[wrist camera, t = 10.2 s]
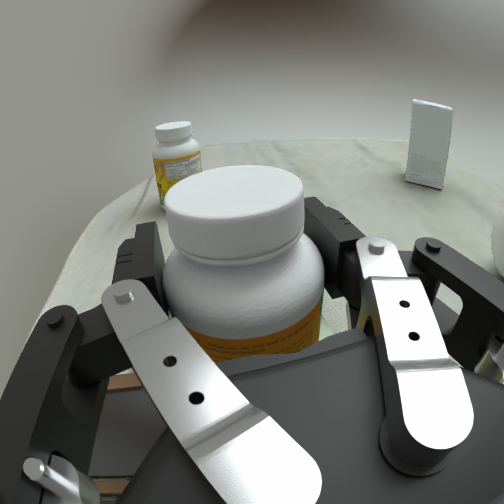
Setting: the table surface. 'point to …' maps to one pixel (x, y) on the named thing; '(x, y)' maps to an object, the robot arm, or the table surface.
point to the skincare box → (429, 143)
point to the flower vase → (498, 241)
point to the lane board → (130, 430)
